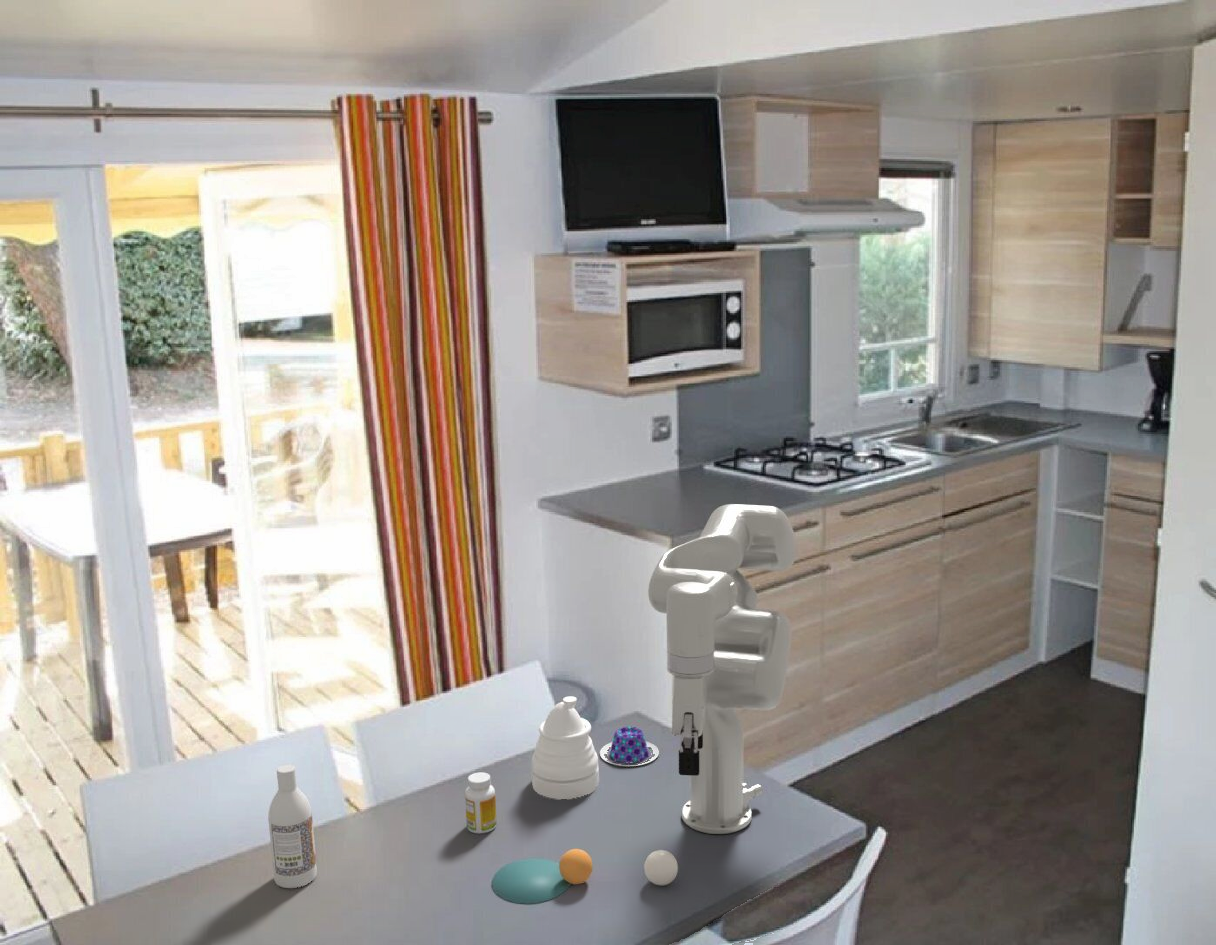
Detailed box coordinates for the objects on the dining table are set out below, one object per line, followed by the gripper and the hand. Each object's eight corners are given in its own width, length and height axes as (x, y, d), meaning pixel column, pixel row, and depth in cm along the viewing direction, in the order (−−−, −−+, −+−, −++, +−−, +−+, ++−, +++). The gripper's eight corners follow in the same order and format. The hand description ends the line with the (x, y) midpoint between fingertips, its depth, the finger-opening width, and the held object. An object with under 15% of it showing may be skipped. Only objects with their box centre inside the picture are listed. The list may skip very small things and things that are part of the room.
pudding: (596, 744, 245) (596, 721, 244) (654, 740, 246) (653, 717, 245) (603, 771, 234) (602, 747, 232) (663, 767, 235) (662, 742, 234)
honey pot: (612, 781, 229) (610, 694, 225) (565, 806, 220) (562, 716, 216) (565, 761, 237) (562, 677, 233) (518, 785, 228) (514, 698, 224)
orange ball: (580, 868, 199) (579, 839, 198) (599, 883, 195) (598, 852, 194) (553, 880, 196) (552, 849, 195) (572, 894, 192) (571, 864, 190)
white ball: (663, 869, 198) (663, 839, 197) (684, 884, 194) (684, 853, 193) (637, 881, 195) (637, 851, 194) (658, 896, 191) (658, 865, 189)
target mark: (542, 851, 205) (542, 850, 205) (586, 884, 195) (586, 883, 194) (477, 877, 197) (477, 876, 197) (519, 913, 187) (519, 912, 187)
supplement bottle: (499, 819, 216) (497, 770, 214) (493, 834, 211) (491, 784, 208) (470, 818, 216) (467, 769, 214) (463, 834, 211) (461, 784, 209)
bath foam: (321, 883, 197) (311, 772, 192) (279, 894, 194) (268, 782, 189) (312, 863, 203) (302, 755, 198) (271, 873, 200) (260, 764, 196)
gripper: (671, 641, 197) (672, 737, 200) (662, 680, 180) (663, 784, 183) (716, 642, 196) (716, 739, 199) (711, 681, 179) (711, 786, 182)
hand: (691, 760), depth 191 cm, fingers open, 9 cm apart
